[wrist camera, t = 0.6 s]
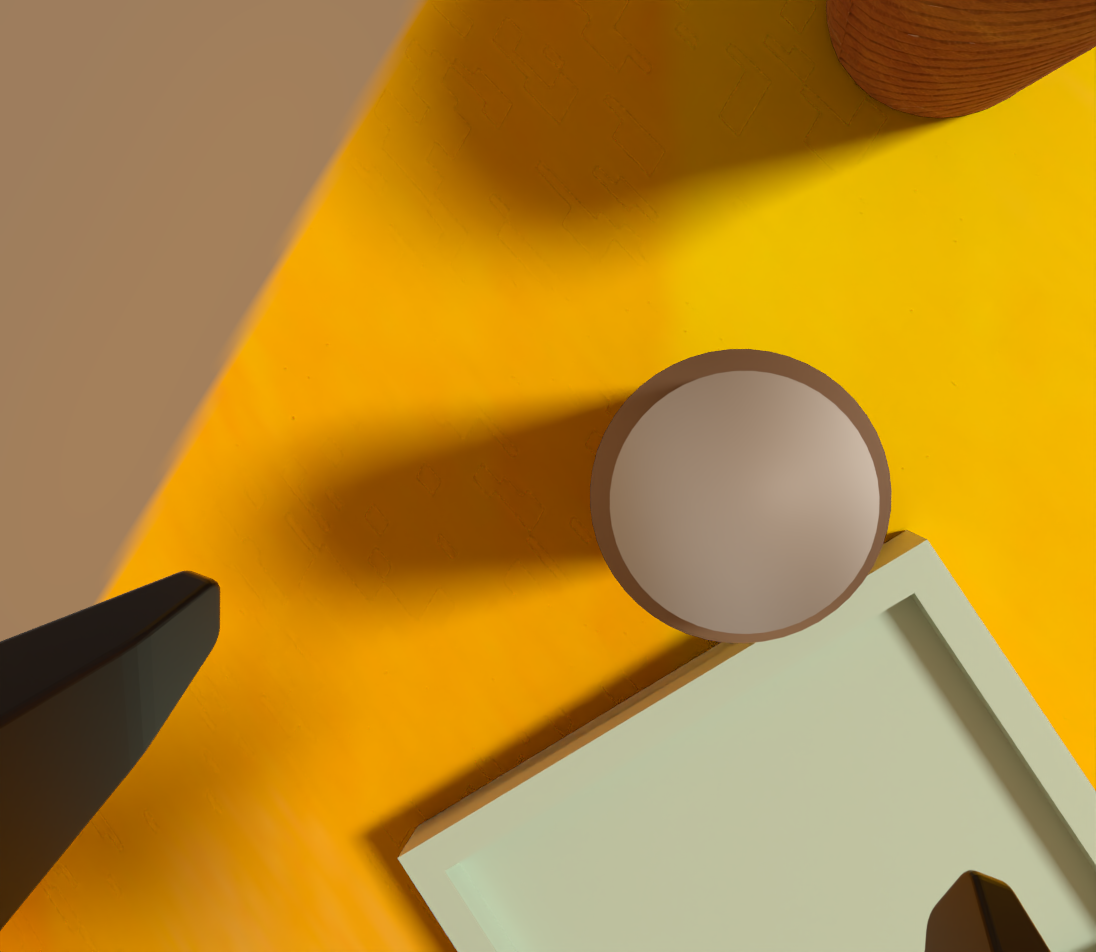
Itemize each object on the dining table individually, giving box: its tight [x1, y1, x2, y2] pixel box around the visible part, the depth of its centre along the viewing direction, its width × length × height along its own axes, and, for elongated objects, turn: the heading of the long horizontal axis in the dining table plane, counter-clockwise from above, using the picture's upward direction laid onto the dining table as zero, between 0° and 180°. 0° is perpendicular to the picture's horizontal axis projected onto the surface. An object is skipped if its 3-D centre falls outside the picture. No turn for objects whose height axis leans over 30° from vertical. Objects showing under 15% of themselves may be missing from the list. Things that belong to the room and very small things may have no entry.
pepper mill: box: [590, 349, 891, 643], centre depth 19 cm, size 5×5×12 cm
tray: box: [398, 530, 1096, 952], centre depth 25 cm, size 17×13×2 cm
